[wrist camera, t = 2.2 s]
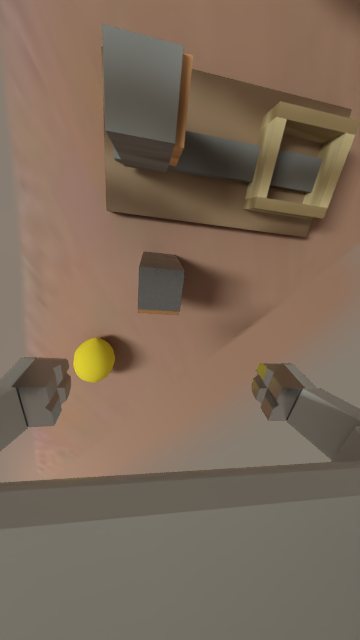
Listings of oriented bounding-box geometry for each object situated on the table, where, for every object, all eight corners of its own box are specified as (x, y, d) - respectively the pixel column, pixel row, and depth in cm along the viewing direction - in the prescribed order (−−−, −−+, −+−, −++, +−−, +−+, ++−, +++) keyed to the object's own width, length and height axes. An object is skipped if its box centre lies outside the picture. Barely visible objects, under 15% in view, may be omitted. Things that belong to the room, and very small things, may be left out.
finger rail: (105, 58, 18) (43, -148, 8) (339, 116, 22) (503, 26, 12) (109, 211, 23) (74, 205, 13) (298, 236, 27) (387, 247, 17)
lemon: (81, 328, 30) (67, 344, 25) (119, 332, 31) (113, 348, 26) (79, 370, 32) (66, 393, 27) (115, 372, 33) (109, 395, 28)
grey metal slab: (143, 251, 26) (139, 266, 18) (175, 254, 26) (184, 270, 18) (142, 287, 28) (137, 315, 20) (171, 289, 28) (178, 317, 20)
